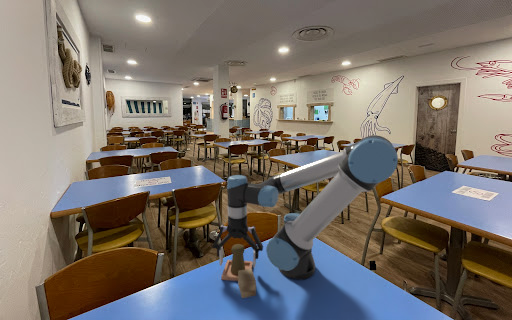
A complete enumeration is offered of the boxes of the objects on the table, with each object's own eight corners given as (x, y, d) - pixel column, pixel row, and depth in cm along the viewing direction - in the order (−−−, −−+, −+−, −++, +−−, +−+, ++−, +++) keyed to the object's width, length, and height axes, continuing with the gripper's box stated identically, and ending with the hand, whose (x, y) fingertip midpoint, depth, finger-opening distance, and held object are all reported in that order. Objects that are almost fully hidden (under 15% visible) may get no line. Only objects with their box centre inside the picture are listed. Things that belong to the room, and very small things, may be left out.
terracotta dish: (252, 264, 103) (252, 261, 103) (249, 281, 92) (249, 278, 92) (227, 262, 104) (227, 259, 104) (221, 279, 93) (221, 276, 93)
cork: (243, 276, 94) (243, 250, 92) (228, 274, 96) (228, 248, 94) (247, 267, 100) (247, 242, 98) (233, 265, 101) (232, 241, 99)
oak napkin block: (251, 282, 92) (251, 268, 91) (255, 295, 85) (255, 280, 84) (238, 284, 90) (238, 270, 89) (241, 298, 84) (241, 283, 83)
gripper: (269, 212, 96) (268, 260, 100) (208, 210, 98) (210, 257, 102) (269, 220, 89) (268, 272, 93) (203, 217, 91) (204, 268, 95)
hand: (237, 264), depth 97 cm, fingers open, 13 cm apart
